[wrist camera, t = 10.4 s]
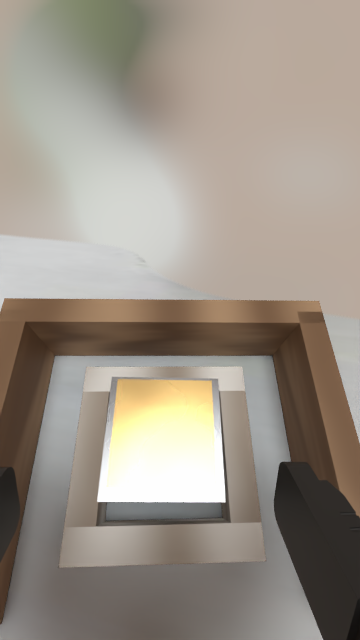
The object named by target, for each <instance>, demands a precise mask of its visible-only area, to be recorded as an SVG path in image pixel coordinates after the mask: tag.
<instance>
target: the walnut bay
mask: <svg viewBox="0 0 360 640" xmlns="http://www.w3.org/2000/svg"><path fill="white" fill-rule="evenodd" d="M55 355H273V360H274V366H275V372H276V377H277V383H278V388H279V394H280V400H281V405H282V411H283V417H284V422H285V428H286V433H287V439H288V445H289V450H290V456H291V461H292V462H307V463H308V464H309V465H310V467H311V468H312V470H313V471H314V473H315V474H316V476H317V478H318V479H319V480H327V481H328V482H330V483H331V484H332V485H333V486H334V487H335V488H337V489H338V490H339V491H340V492H341V493H342V494H344V496H345V497H346V499H347V500H348V502H349V503H350V504H351V506H352V507H353V509H354V510H355V512H356V515H357V516H359V517H360V443H359V440H358V436H357V433H356V429H355V426H354V422H353V419H352V415H351V412H350V408H349V405H348V401H347V398H346V394H345V391H344V387H343V384H342V380H341V377H340V373H339V370H338V366H337V363H336V359H335V356H334V352H333V349H332V345H331V342H330V338H329V335H328V331H327V327H326V324H325V320H324V317H323V313H322V310H321V306H320V303H319V301H256V300H254V301H253V300H134V299H9V298H5V299H4V302H3V305H2V309H1V312H0V467H12V468H13V469H14V471H15V477H16V483H17V489H18V495H19V502H20V518H19V522H18V526H17V529H16V532H15V534H14V536H13V538H12V540H11V542H10V544H9V546H8V548H7V550H6V552H5V554H4V556H3V558H2V560H1V563H0V624H2V619H3V614H4V609H5V604H6V599H7V594H8V589H9V584H10V579H11V574H12V569H13V564H14V559H15V554H16V549H17V544H18V539H19V534H20V528H21V523H22V518H23V513H24V508H25V503H26V498H27V493H28V488H29V483H30V478H31V473H32V468H33V463H34V458H35V453H36V448H37V443H38V437H39V432H40V427H41V422H42V417H43V412H44V407H45V402H46V397H47V392H48V387H49V382H50V377H51V372H52V367H53V362H54V357H55ZM112 377H156V378H214V379H218V384H219V401H220V418H221V435H222V452H223V469H224V485H225V502H221V505H222V518H202V519H162V520H121V521H105V517H106V506H107V502H97V498H98V490H99V481H100V473H101V464H102V456H103V447H104V439H105V431H106V422H107V414H108V405H109V397H110V388H111V380H112ZM257 561H266V556H265V548H264V540H263V532H262V524H261V515H260V507H259V499H258V491H257V483H256V475H255V467H254V459H253V450H252V442H251V434H250V426H249V418H248V410H247V402H246V394H245V385H244V377H243V369H242V367H86V374H85V381H84V388H83V395H82V402H81V409H80V416H79V423H78V431H77V438H76V445H75V452H74V459H73V466H72V473H71V480H70V488H69V495H68V502H67V509H66V516H65V523H64V530H63V537H62V545H61V552H60V559H59V566H58V568H66V567H98V566H130V565H162V564H194V563H225V562H257Z"/></svg>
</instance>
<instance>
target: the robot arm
mask: <svg viewBox="0 0 360 640" xmlns="http://www.w3.org/2000/svg"><path fill="white" fill-rule="evenodd" d="M274 511H275V517H276V521H277V524H278V527H279V529H280V532H281V534H282V537H283V539H284V542H285V544H286V547H287V549H288V552H289V554H290V557H291V559H292V562H293V564H294V567H295V569H296V572H297V575H298V577H299V580H300V582H301V585H302V587H303V590H304V592H305V595H306V597H307V600H308V602H309V605H310V607H311V610H312V612H313V615H314V617H315V620H316V622H317V625H318V628H319V630H320V633H321V635H322V638H323V640H360V517H359V516H357V515H356V512H355V510H354V509H353V507H352V506H351V504H350V503H349V502H348V500H347V499H346V497H345V496H344V494H342V493H341V492H340V491H339V490H338V489H337V488H335V487H334V486H333V485H332V484H331V483H330V482H328V481H327V480H319V479H318V478H317V476H316V474H315V473H314V471H313V470H312V468H311V467H310V465H309V464H308V463H307V462H281V463H280V465H279V470H278V477H277V483H276V490H275V497H274ZM19 518H20V502H19V495H18V489H17V483H16V477H15V471H14V469H13V468H12V467H0V563H1V560H2V558H3V556H4V554H5V552H6V550H7V548H8V546H9V544H10V542H11V540H12V538H13V536H14V534H15V532H16V529H17V526H18V522H19Z"/></svg>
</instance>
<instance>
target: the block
mask: <svg viewBox="0 0 360 640" xmlns="http://www.w3.org/2000/svg"><path fill="white" fill-rule="evenodd" d="M97 502H225V485H224V469H223V452H222V435H221V418H220V401H219V384H218V379H214V378H156V377H112V380H111V388H110V397H109V405H108V414H107V422H106V431H105V439H104V447H103V456H102V464H101V473H100V481H99V490H98V498H97Z"/></svg>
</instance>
